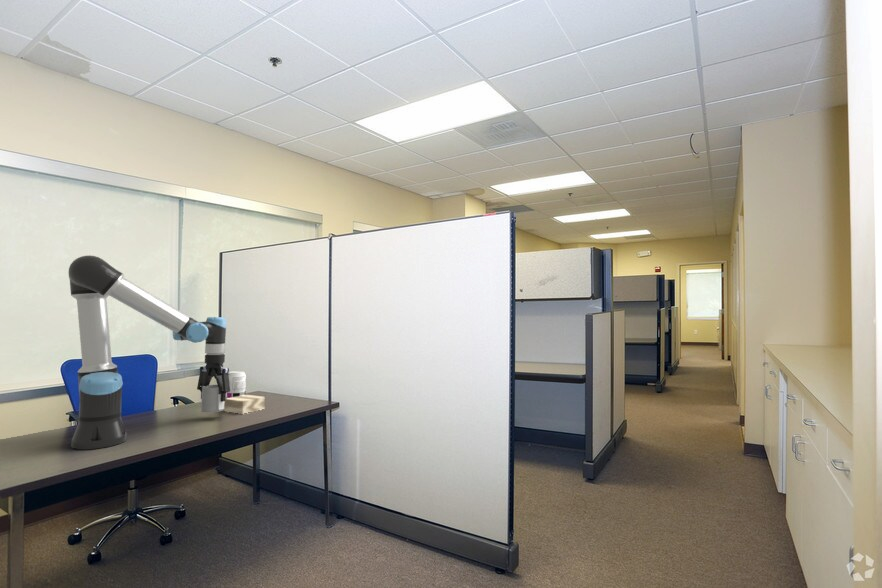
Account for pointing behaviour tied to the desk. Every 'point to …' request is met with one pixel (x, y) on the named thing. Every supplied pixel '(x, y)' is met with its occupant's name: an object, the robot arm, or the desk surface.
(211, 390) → the cup
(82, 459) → the desk surface
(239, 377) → the supplement can
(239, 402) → the birch block
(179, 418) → the desk surface
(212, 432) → the desk surface
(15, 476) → the desk surface
